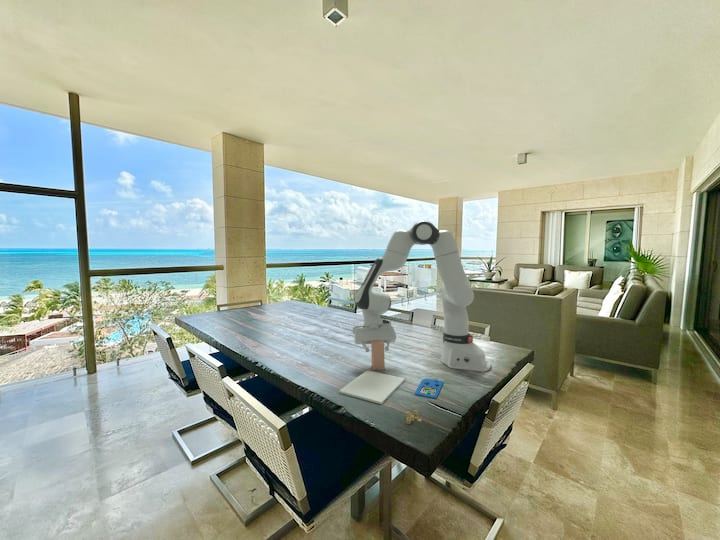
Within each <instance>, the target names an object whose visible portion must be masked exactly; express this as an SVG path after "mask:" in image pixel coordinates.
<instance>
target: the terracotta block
mask: <svg viewBox="0 0 720 540" xmlns="http://www.w3.org/2000/svg"><path fill="white" fill-rule="evenodd" d="M370 345H371V367H372V369H373V370H374V371H377V370H379V371H380V370H385V363H386V361H385V343H384V342H383V341H382V340H376V341H371V344H370Z"/></svg>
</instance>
